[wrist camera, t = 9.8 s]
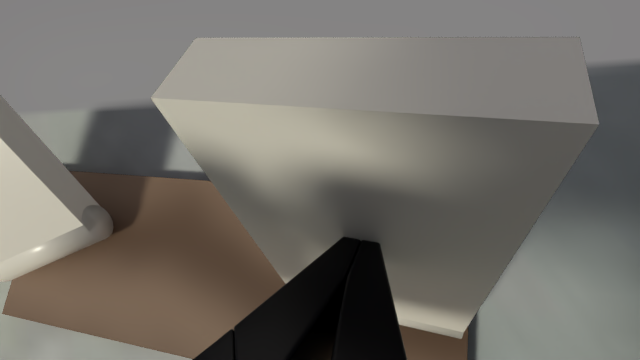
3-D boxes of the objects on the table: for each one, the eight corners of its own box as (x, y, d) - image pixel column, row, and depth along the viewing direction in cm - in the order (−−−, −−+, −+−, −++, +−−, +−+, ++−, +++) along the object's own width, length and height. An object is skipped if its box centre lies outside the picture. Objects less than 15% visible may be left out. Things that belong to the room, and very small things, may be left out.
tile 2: (457, 343, 12) (601, 131, 4) (299, 306, 14) (147, 102, 5) (460, 286, 14) (575, 20, 5) (313, 258, 15) (204, 25, 7)
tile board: (462, 416, 13) (465, 423, 12) (14, 312, 19) (1, 313, 19) (470, 202, 15) (472, 199, 14) (55, 171, 21) (44, 169, 20)
